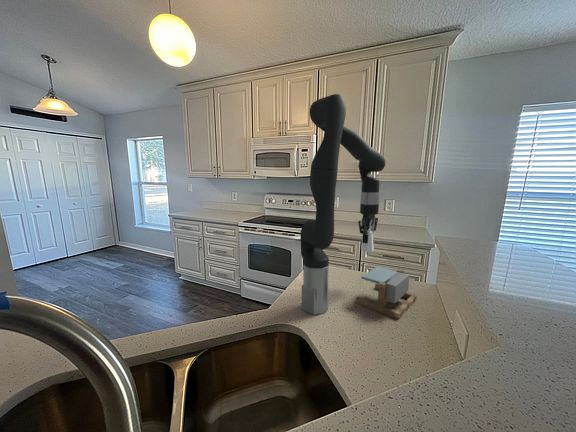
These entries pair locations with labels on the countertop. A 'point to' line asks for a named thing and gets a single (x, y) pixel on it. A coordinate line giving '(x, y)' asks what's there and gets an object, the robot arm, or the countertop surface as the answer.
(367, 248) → the pepper shaker
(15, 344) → the countertop surface
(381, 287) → the wooden frame stand
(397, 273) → the trapdoor
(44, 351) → the countertop surface
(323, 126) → the robot arm
